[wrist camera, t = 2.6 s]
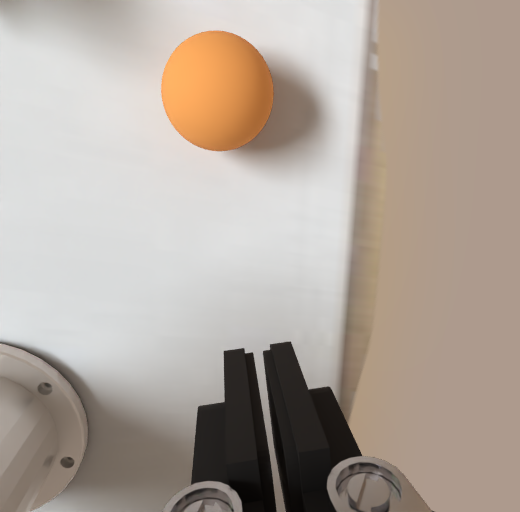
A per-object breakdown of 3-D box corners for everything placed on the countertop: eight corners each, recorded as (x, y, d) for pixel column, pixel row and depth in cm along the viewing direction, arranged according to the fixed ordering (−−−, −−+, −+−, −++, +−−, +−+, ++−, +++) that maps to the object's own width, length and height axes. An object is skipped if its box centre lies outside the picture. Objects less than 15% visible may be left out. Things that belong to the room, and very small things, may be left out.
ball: (210, 170, 24) (208, 176, 18) (147, 89, 22) (125, 70, 17) (286, 111, 23) (305, 99, 18) (226, 24, 22) (228, -16, 17)
